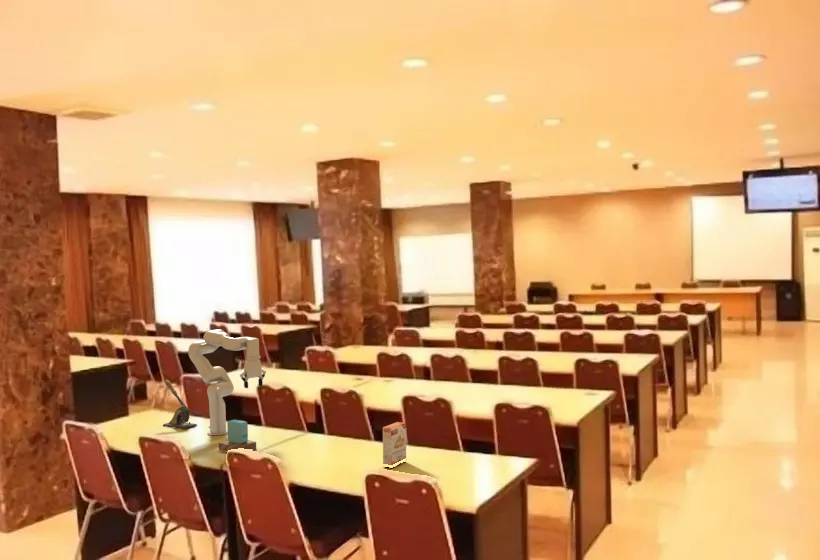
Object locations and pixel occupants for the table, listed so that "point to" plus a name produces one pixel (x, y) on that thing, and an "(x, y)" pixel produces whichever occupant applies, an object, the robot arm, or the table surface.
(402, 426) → the cracker box
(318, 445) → the table surface
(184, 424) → the embossing press
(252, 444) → the walnut block
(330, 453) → the table surface
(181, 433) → the table surface
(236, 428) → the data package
